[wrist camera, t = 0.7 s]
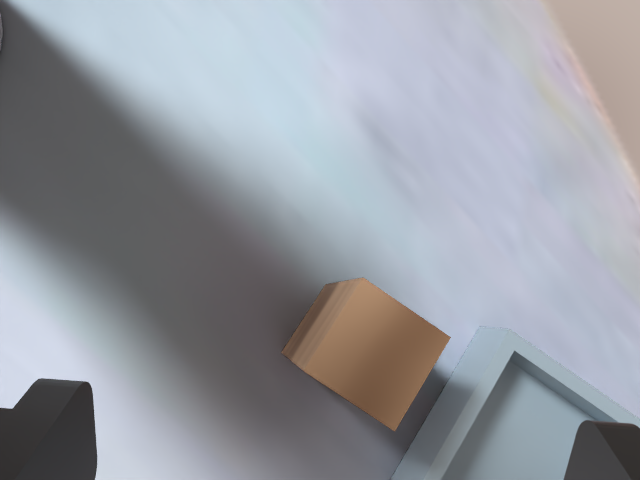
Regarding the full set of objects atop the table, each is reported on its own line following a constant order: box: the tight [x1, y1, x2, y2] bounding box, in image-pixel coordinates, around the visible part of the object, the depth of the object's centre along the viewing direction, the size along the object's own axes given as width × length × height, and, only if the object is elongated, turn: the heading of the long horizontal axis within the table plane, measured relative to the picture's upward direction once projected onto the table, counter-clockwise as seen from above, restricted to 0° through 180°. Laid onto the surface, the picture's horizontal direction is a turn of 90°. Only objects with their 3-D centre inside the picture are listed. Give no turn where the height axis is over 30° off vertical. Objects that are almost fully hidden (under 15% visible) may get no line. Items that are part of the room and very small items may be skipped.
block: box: [281, 278, 451, 431], centre depth 28 cm, size 4×4×9 cm
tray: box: [390, 326, 640, 480], centre depth 32 cm, size 11×11×4 cm
